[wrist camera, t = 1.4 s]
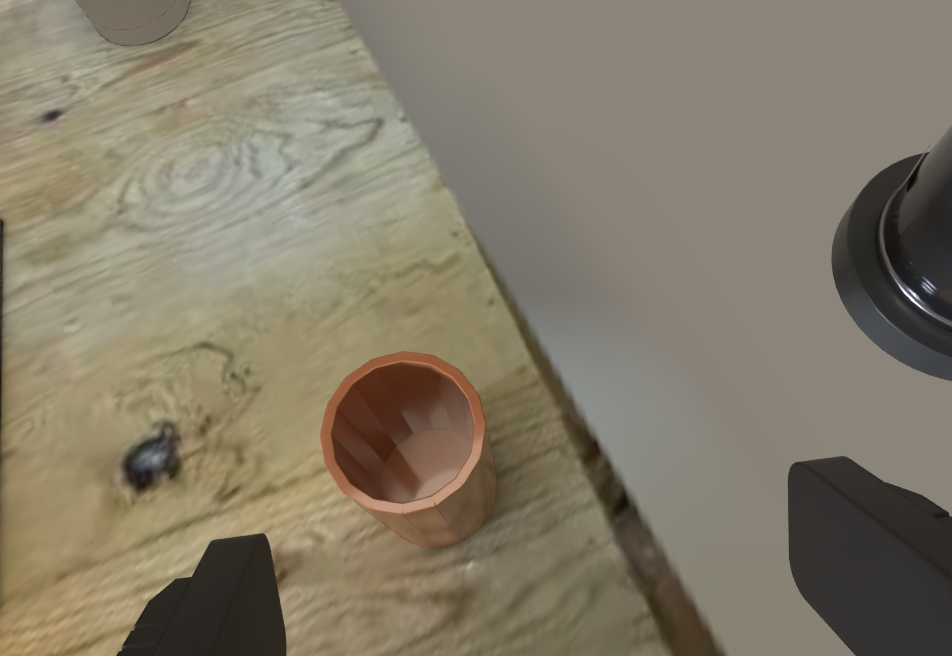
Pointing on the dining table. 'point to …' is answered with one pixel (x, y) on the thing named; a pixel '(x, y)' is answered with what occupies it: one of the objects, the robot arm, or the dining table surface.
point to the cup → (134, 18)
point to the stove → (0, 288)
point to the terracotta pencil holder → (412, 448)
